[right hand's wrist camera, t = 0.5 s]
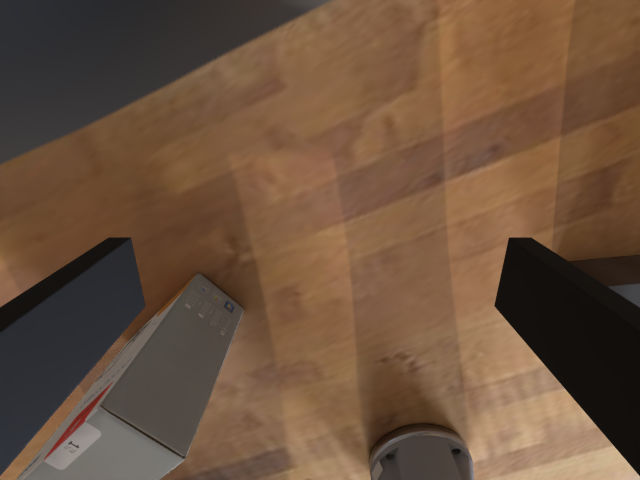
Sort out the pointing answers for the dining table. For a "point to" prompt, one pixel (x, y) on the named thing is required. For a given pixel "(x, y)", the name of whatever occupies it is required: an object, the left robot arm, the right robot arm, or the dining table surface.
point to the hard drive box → (146, 395)
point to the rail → (616, 274)
